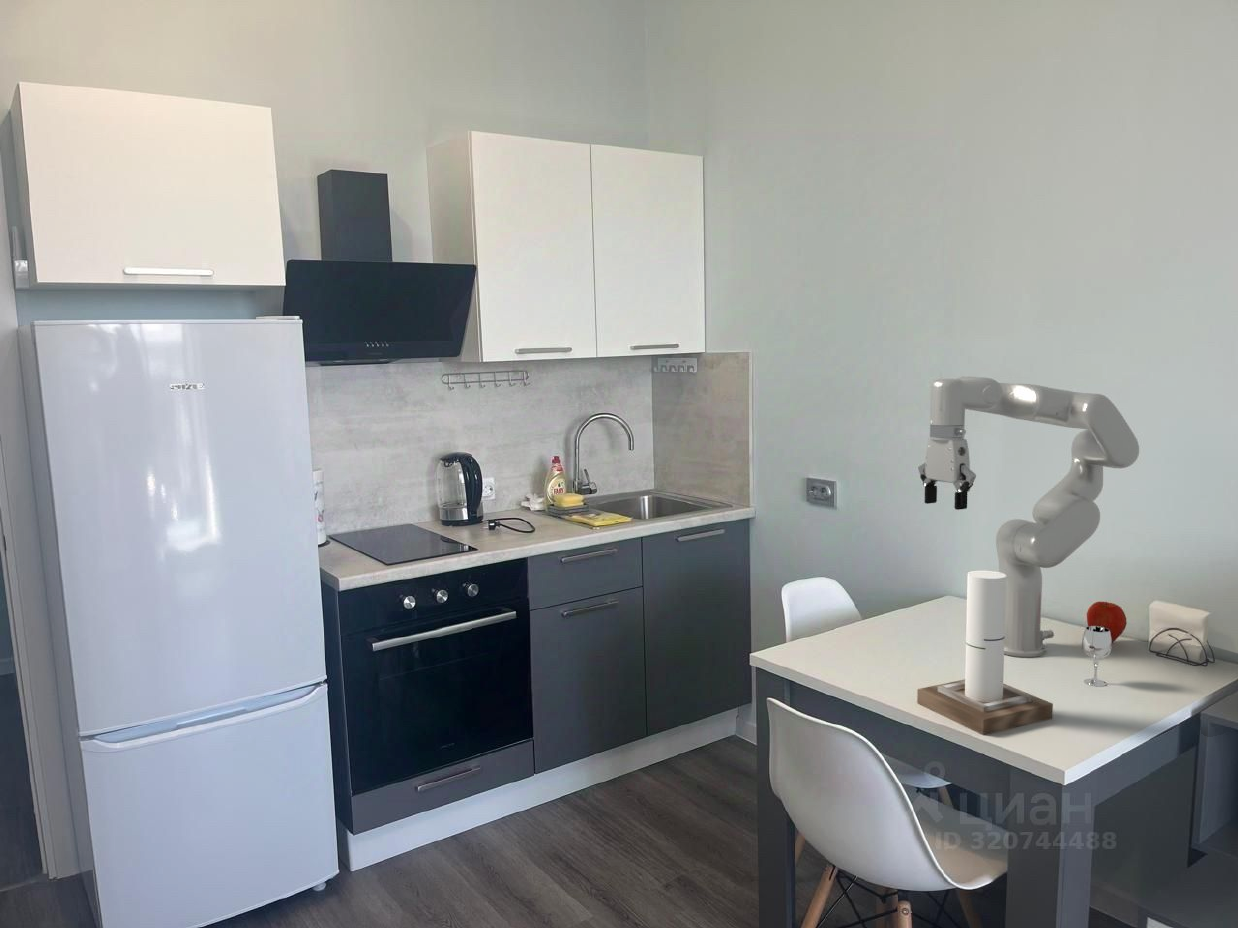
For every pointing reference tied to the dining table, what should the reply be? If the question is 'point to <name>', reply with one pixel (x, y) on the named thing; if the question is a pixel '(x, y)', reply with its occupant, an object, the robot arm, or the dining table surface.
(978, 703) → the walnut base
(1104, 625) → the apple
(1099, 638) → the wineglass
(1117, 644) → the dining table surface
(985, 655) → the cylindrical container
